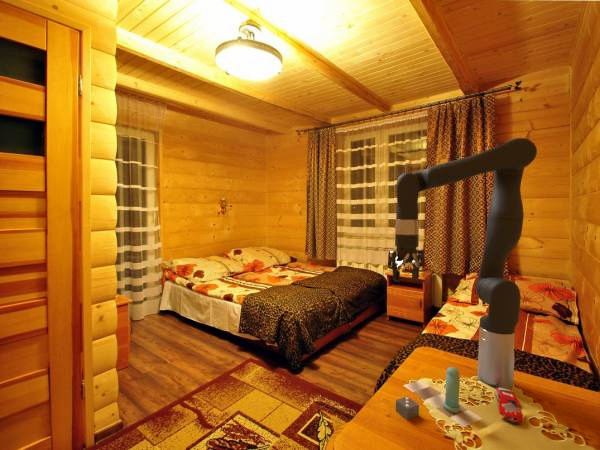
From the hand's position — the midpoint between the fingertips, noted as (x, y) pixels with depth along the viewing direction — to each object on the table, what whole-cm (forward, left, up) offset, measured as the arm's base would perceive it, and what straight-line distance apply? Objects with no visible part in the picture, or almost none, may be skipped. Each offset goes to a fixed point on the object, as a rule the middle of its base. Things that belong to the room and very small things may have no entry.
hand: (406, 280), depth 105 cm
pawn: (+7, +24, -29) cm, 38 cm away
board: (+7, +20, -30) cm, 37 cm away
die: (+19, +20, -30) cm, 41 cm away
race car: (-8, +30, -30) cm, 43 cm away
